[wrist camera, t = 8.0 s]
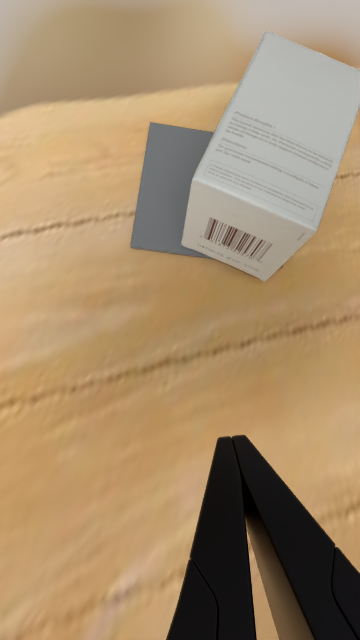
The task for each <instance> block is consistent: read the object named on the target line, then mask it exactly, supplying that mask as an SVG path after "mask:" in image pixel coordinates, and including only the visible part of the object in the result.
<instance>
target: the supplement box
mask: <svg viewBox="0 0 360 640" xmlns="http://www.w3.org/2000/svg"><path fill="white" fill-rule="evenodd" d="M359 107H360V70H358V69H356V68H354V67H351V66H349V65H346V64H344V63H342V62H339V61H337V60H335V59H332V58H330V57H327V56H326V55H324V54H322V53H319V52H316V51H313V50H310V49H308V48H306V47H304V46H301V45H299V44H296V43H294V42H292V41H289V40H286V39H285V38H283V37H280V36H278V35H275V34H273V33H271V32H265V33H264V34H263V35H262V38H261V40H260V43H259V45H258V47H257V50H256V52H255V54H254V56H253V58H252V60H251V62H250V64H249V66H248V68H247V70H246V72H245V74H244V76H243V78H242V80H241V82H240V83H239V85H238V87H237V89H236V91H235V93H234V95H233V97H232V99H231V101H230V103H229V105H228V107H227V109H226V111H225V113H224V115H223V117H222V119H221V121H220V123H219V125H218V127H217V129H216V131H215V133H214V135H213V137H212V139H211V141H210V143H209V145H208V147H207V149H206V151H205V153H204V155H203V158H202V160H201V162H200V163H199V165H198V168H197V170H196V172H195V174H194V176H193V179H192V183H191V189H190V196H189V201H188V207H187V213H186V219H185V225H184V230H183V237H182V241H181V244H182V246H184V247H187V248H189V249H193V250H196V251H198V252H200V253H203V254H205V255H207V256H210V257H212V258H214V259H217V260H219V261H221V262H224V263H226V264H228V265H231V266H233V267H235V268H237V269H240V270H242V271H244V272H246V273H249V274H251V275H253V276H255V277H257V278H259V279H260V280H262V281H266V280H267V279H268V278H270V277H271V275H273V274H274V273H275V272H276V271H277V270H278V269H279V268H280V267H281V266H282V265H283V264H284V263H285V262H286V261H287V260H288V259H289V258H290V257H291V256H292V255H293V254H294V253H295V252H296V251H297V250H298V249H300V248H301V247H302V246H303V245H304V244H305V243H306V242H307V241H308V240H309V239H310V238H311V237H312V236H313V235H314V234H315V233H316V232H317V229H318V227H319V224H320V221H321V218H322V215H323V212H324V209H325V206H326V203H327V201H328V198H329V195H330V192H331V189H332V186H333V183H334V180H335V177H336V174H337V171H338V168H339V165H340V163H341V160H342V157H343V154H344V151H345V148H346V145H347V142H348V139H349V136H350V134H351V131H352V128H353V125H354V122H355V119H356V116H357V113H358V110H359Z"/></svg>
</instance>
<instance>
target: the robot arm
mask: <svg viewBox="0 0 360 640" xmlns="http://www.w3.org/2000/svg"><path fill="white" fill-rule="evenodd" d="M246 527H247V530H246ZM247 531H248V534H249V537H250V541H251V544H252V548H253V551H254V555H255V558H256V561H257V565H258V568H259V572H260V575H261V579H262V582H263V585H264V589H265V592H266V596H267V599H268V603H269V606H270V609H271V613H272V616H273V620H274V623H275V627H276V630H277V633H278V637H279V640H360V573H359V572H358V571H357V569H356V568H355V567H354V566H353V565H352V564H351V562H350V561H349V560H348V559H347V558H346V556H345V555H344V554H343V553H342V551H341V550H340V549H339V548H338V547H335V543H334V542H333V541H332V540H331V538H330V537H329V536H328V535H327V534H326V532H325V531H324V530H323V529H322V527H321V526H320V525H319V524H318V523H317V521H316V520H315V519H314V518H313V517H312V515H311V514H310V513H309V512H308V511H307V509H306V508H305V507H304V506H303V504H302V503H301V502H300V501H299V500H298V498H297V497H296V496H295V495H294V494H293V492H292V491H291V490H290V489H289V487H288V486H287V485H286V484H285V483H284V481H283V480H282V479H281V478H280V477H279V475H278V474H277V473H276V472H275V471H274V469H273V468H272V467H271V466H270V464H269V463H268V462H267V461H266V460H265V458H264V457H263V456H262V455H261V454H260V452H259V451H258V450H257V449H256V448H255V446H254V445H253V444H252V443H251V441H250V440H249V439H248V438H247V437H246V436H245V435H236V436H233V437H232V438H231V437H230V436H226V437H219V438H218V439H217V443H216V447H215V452H214V456H213V460H212V464H211V468H210V473H209V477H208V481H207V485H206V489H205V494H204V498H203V502H202V506H201V511H200V515H199V519H198V523H197V527H196V532H195V536H194V540H193V544H192V548H191V553H190V559H189V561H188V564H187V569H186V573H185V577H184V581H183V585H182V588H181V592H180V596H179V600H178V603H177V607H176V610H175V613H174V617H173V620H172V623H171V626H170V629H169V632H168V635H167V639H166V640H257V638H256V627H255V617H254V606H253V595H252V584H251V573H250V563H249V552H248V541H247Z"/></svg>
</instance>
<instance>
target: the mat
mask: <svg viewBox="0 0 360 640" xmlns="http://www.w3.org/2000/svg"><path fill="white" fill-rule="evenodd" d="M213 135H214V133H213V132H207V131H201V130H195V129H189V128H182V127H176V126H170V125H164V124H157V123H151V122H150V127H149V133H148V140H147V146H146V152H145V158H144V165H143V171H142V177H141V184H140V190H139V196H138V202H137V209H136V215H135V221H134V227H133V234H132V240H131V248H134V249H141V250H149V251H156V252H164V253H171V254H179V255H187V256H194V257H202V258H209V259H214V258H212V257H210V256H207V255H205V254H203V253H200V252H198V251H196V250H193V249H189V248H187V247H184V246H182V244H181V241H182V237H183V230H184V225H185V219H186V213H187V207H188V201H189V196H190V189H191V183H192V179H193V176H194V174H195V172H196V170H197V168H198V165H199V163H200V162H201V160H202V158H203V155H204V153H205V151H206V149H207V147H208V145H209V143H210V141H211V139H212V137H213ZM282 267H283V265H282V266H281V267H280V268H282Z"/></svg>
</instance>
